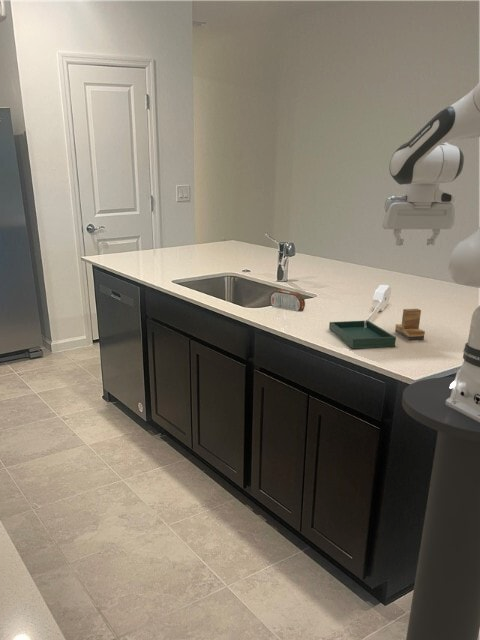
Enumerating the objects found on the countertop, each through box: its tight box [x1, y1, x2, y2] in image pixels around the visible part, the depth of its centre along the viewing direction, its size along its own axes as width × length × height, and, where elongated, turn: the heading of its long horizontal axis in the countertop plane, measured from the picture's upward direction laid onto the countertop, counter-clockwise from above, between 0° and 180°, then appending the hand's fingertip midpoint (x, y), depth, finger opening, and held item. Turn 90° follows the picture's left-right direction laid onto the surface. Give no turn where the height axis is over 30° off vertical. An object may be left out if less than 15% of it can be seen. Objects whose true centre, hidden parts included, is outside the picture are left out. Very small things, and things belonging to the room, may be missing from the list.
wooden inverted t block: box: [394, 308, 426, 342], centre depth 177 cm, size 10×5×9 cm, turn 6°
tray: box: [328, 320, 397, 349], centre depth 177 cm, size 22×14×3 cm, turn 6°
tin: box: [269, 288, 306, 312], centre depth 212 cm, size 15×3×8 cm, turn 47°
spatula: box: [364, 284, 392, 329], centre depth 200 cm, size 38×8×4 cm
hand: (414, 245), depth 162 cm, fingers open, 8 cm apart
